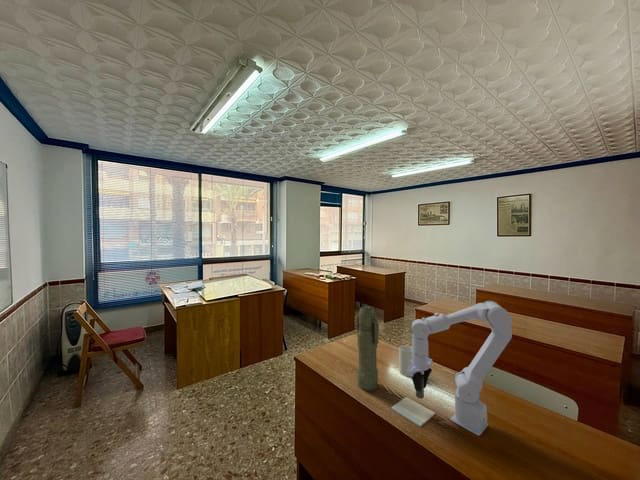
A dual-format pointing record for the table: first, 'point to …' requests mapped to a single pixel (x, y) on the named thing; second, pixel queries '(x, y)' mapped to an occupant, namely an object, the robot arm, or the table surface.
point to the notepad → (413, 411)
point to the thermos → (367, 348)
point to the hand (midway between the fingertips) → (420, 388)
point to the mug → (404, 359)
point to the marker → (421, 393)
